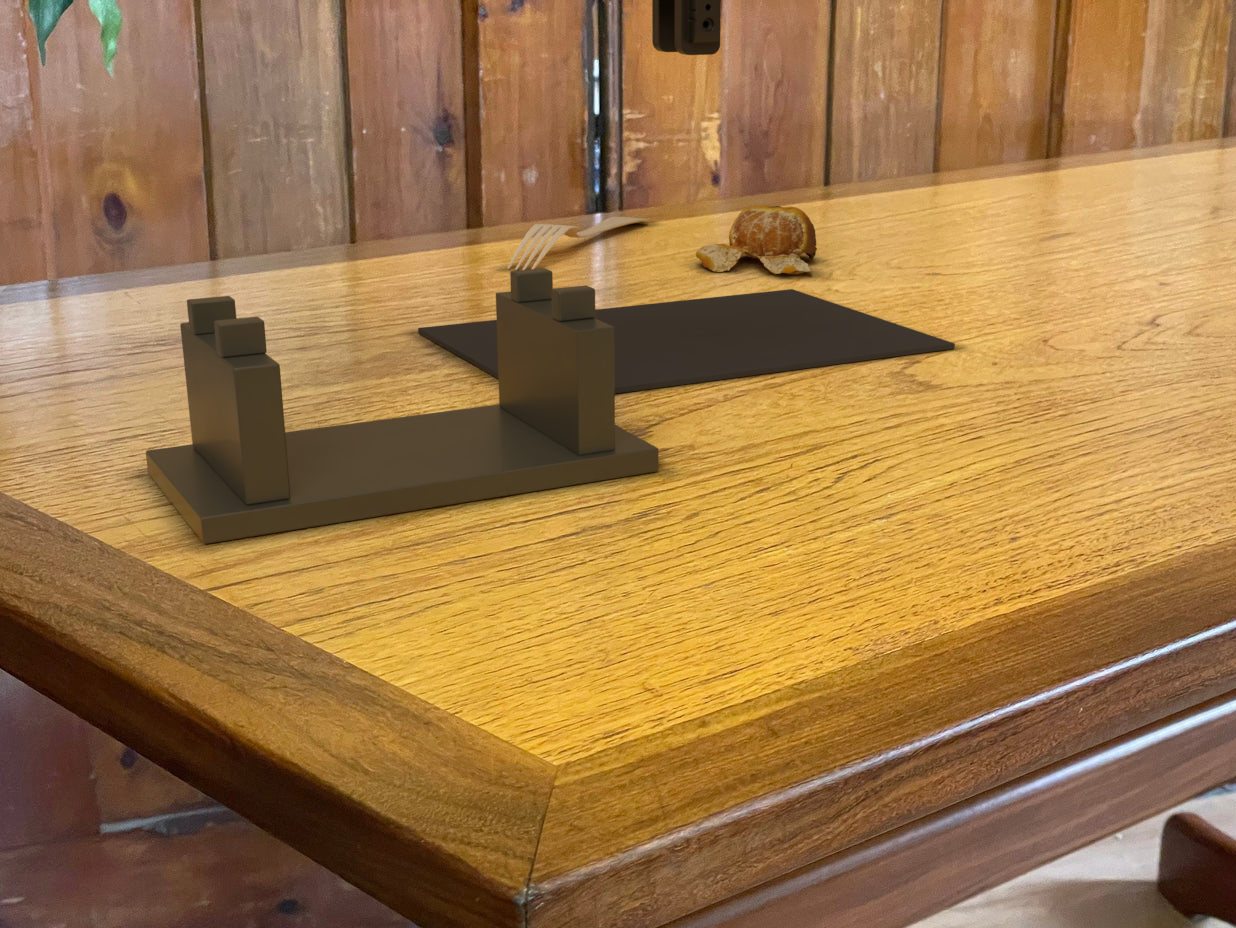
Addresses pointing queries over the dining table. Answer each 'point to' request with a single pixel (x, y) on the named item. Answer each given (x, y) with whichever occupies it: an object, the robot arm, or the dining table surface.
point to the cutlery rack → (395, 426)
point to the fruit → (765, 240)
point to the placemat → (719, 338)
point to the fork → (566, 230)
